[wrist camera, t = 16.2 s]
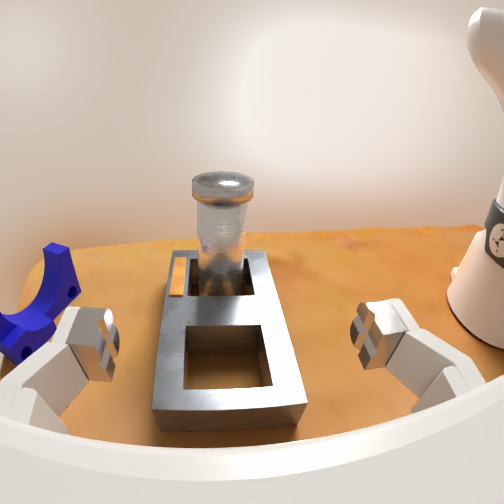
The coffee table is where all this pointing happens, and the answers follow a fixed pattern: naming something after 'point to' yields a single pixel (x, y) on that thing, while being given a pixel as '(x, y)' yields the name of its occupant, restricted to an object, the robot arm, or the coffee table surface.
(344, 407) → the coffee table surface
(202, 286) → the steel bushing
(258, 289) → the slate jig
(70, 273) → the cable clip
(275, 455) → the robot arm
